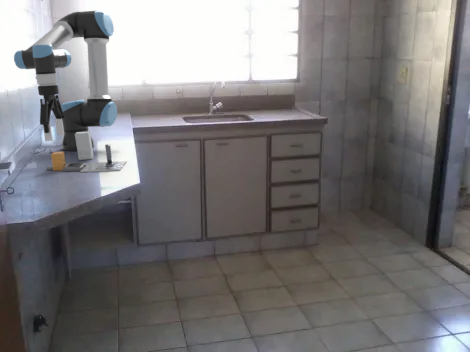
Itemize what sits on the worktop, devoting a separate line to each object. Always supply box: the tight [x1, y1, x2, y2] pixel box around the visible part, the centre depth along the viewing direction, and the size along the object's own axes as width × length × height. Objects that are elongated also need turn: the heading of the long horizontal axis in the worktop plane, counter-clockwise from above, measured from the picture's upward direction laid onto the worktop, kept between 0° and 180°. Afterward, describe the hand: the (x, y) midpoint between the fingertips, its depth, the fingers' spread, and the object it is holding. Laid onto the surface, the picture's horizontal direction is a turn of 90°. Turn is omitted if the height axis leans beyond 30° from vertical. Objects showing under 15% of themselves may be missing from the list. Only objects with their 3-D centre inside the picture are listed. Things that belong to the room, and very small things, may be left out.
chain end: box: [46, 151, 87, 172], centre depth 204 cm, size 15×7×7 cm, turn 90°
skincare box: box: [75, 131, 95, 161], centre depth 219 cm, size 6×4×12 cm
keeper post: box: [80, 143, 128, 173], centre depth 203 cm, size 13×16×9 cm
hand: (55, 137), depth 201 cm, fingers open, 13 cm apart
